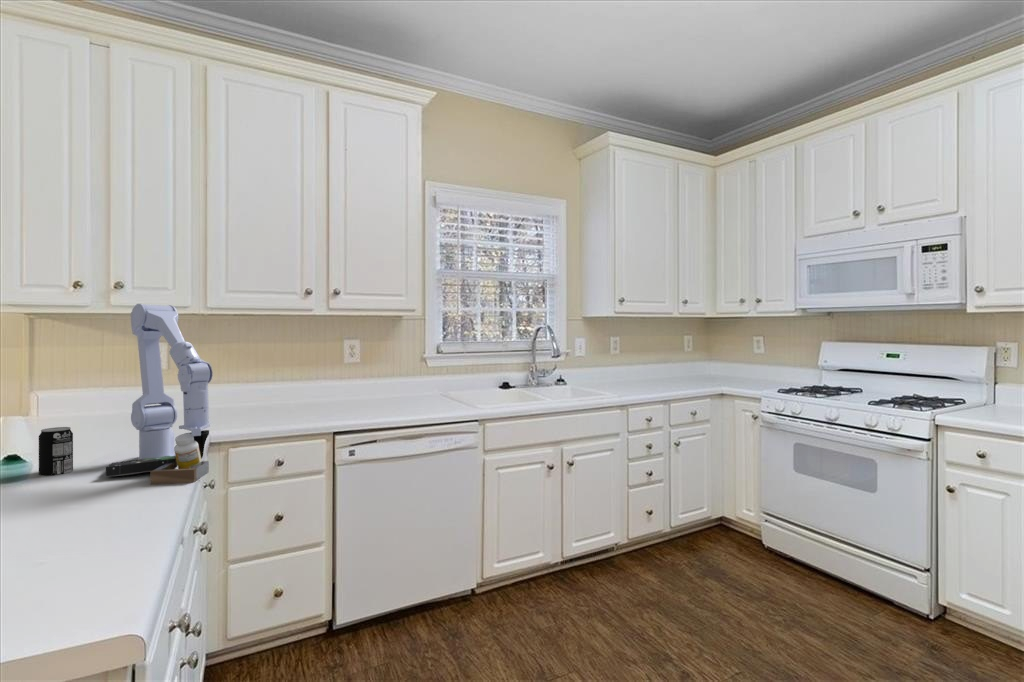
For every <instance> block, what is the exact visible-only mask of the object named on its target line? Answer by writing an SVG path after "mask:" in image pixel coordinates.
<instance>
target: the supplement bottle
mask: <svg viewBox="0 0 1024 682" xmlns="http://www.w3.org/2000/svg"><path fill="white" fill-rule="evenodd" d="M174 442H175V445H174V454H175V456H176V460H177V464H178V466H177V469H190V468H192V467H193V466H195V465H197V464H198V463H200V462H202V461H203V460H202V459H203V458H202V459H201V455H200V450H199V445H198V443H197V442H196V441H195V440H194V437H193V436H192V434H191V432H185V433H182V434H178V435H177V436H175V437H174Z"/></svg>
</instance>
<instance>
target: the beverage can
mask: <svg viewBox="0 0 1024 682" xmlns="http://www.w3.org/2000/svg"><path fill="white" fill-rule="evenodd" d="M73 471H74V433H73V431H72V430H71V427H70V426H57V427H48V428H42V429H41V430H40V433H39V435H38V475H39V476H42V477H44V476H45V477H49V476H50V477H51V476H61V475H65V474H69V473H72V472H73Z"/></svg>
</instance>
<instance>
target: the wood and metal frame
mask: <svg viewBox="0 0 1024 682" xmlns="http://www.w3.org/2000/svg"><path fill="white" fill-rule="evenodd" d="M209 467H210V466H209V460H202V462H200V463H198V464H197V465H195V466H193V467H192V468H190V469H178V468H175V462H173V463H167V464H165V465H163V466H161V467H159V468H157V469H155V470H153V471H151V472H150V476H149V477H150V478H149V479H150V482H149V484H150V485H161V484H163V485H164V484H182V483H196V481H199V479H201V478H203V477H204V476H206V475H207V474H209V472H210V470H209Z"/></svg>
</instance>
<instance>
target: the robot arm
mask: <svg viewBox="0 0 1024 682" xmlns="http://www.w3.org/2000/svg"><path fill="white" fill-rule="evenodd" d="M129 316H130V323H131V324H130V325H131V326H130V327H131V331H132V335H134V336H136V338H137V349H138V360H139V368H140V377H141V378H140V381H141V388H142V390H141V391H142V395H140V397H138V398H136V400H135V401H133V402H132V404H131V413H130V414H131V415H130V422H131V425H132V426H133V427H134V429H136V431H138V436H139V437H138V443H139V445H138V449H139V450H138V453H139V454H138V455H139V456H138V459H136V460H140V459H148V458H157V457H165V456H175V451H174V447H175V432H174V430H173V425H174V424H175V423H176V421H177V420H178V409H177V408H176V405H175V399H174V398H173V397H172V396H170V395H168V394H166V393H165V391H164V390H165V389H164V379H163V368H162V360H161V350H160V349H161V347H160V339H161V337H163V338H164V339H165V341H166V342H167V344H169V346H170V348H169V355H170V357H171V359H172V360H173V362H174V364H175V365H176V368H177V369H178V371H177V372H178V373H177V380H178V382H179V384H180V391H181V392H182V395H183V396H182V397H183V401H182V402H183V424H182V425H178V429H179V430H186V431H188V432H189V431H190V433H191V434H192V436H193V437H194V440H195V441H196V442H197V443H198V445H199V450H200V455H201V459H203V457H204V452H205V446H206V445H205V444H206V441H207V438H208V436H209V434H210V430H209V429H207V428H210V427H211V423H210V410H209V409H210V407H209V406H210V405H209V384H210V383H211V381H212V380H213V374H214V373H213V369H212V365H211V363H210V362H208V361H205V360H204V359H201V357H200V356H199V354H198V352H197V351H196V349H195V347H194V346H193V344H192V343H191V342H189V341H186V340H185V338H184V336H183V334H182V331H181V329H180V328H179V325H178V323H179V312H178V309H176V307H175V306H174V305H161V304H142V303H136V304H135V306H134V305H133V308H132V309H131V312H130V315H129ZM205 429H206V430H205Z"/></svg>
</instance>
